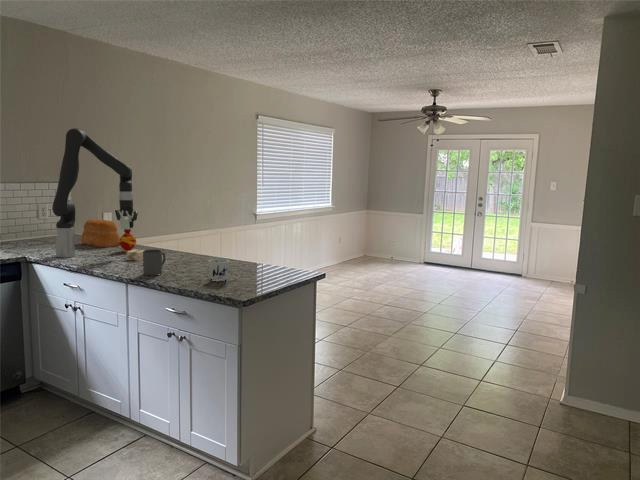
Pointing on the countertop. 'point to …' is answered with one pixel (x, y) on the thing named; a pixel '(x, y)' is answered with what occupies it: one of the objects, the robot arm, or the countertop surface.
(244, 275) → the countertop surface
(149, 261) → the mug
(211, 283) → the countertop surface
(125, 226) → the sage block
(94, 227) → the bread
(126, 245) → the potion bottle
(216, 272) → the mug
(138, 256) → the oak block
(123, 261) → the countertop surface
